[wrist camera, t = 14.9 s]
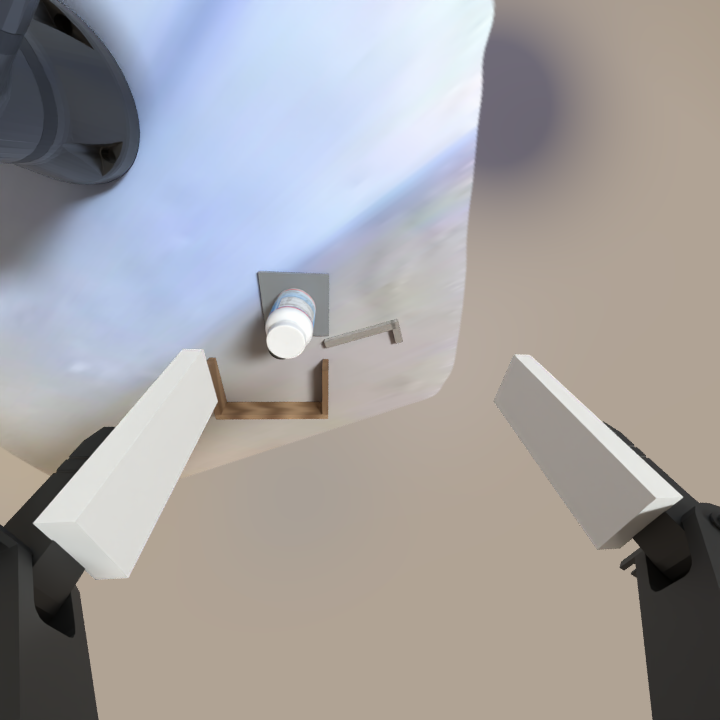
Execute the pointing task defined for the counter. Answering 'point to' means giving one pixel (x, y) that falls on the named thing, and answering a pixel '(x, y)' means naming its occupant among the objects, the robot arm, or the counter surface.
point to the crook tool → (366, 333)
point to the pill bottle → (290, 323)
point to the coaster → (307, 282)
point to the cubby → (268, 408)
